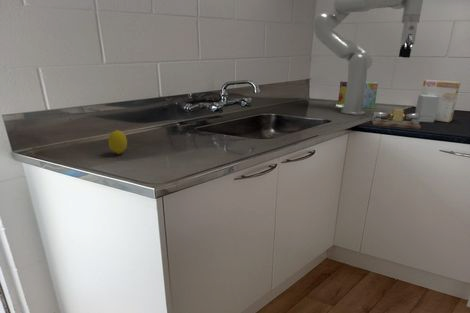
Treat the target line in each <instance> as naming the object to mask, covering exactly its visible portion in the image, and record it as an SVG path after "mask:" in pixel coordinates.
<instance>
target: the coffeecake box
mask: <svg viewBox="0 0 470 313" xmlns="http://www.w3.org/2000/svg"><path fill="white" fill-rule="evenodd" d="M460 87H461V81H453V80H441V79H440V80H439V79H427V78H426V79H424V80H423V84H422V90H421V94H420V95H434V96H437V97H439V101H438V105H437V110H436V115H435V119H434V121H437V122H443V123H444V122H445V123H450V122H451V121H452V120H453V116H454V112H455V107H456V104H457V99H458V94H459V90H460Z"/></svg>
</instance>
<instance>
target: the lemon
mask: <svg viewBox="0 0 470 313" xmlns="http://www.w3.org/2000/svg"><path fill="white" fill-rule="evenodd" d="M108 146H109V149H110V150H111V151H112V152H113V153H116V154H117V155H120V154H122V153H123V152H124V151H125V150H126V149H127V146H128V139H127V136H126V134H125V133H124V132H123V131H121V130H118V129H115V130H114V131H112V132H111V133H110V134H109V137H108Z"/></svg>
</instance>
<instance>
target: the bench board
mask: <svg viewBox="0 0 470 313" xmlns="http://www.w3.org/2000/svg"><path fill="white" fill-rule="evenodd" d="M370 121H371V124H372V125H373V126H378V127H379V126H381V127H392V128H405V129H415V130H421V129H422V128H421V127H422V126H421V125H420V124H419V125H413V124H412V123H411V121H410V120H409V121H408V120H404V121H403V122H407V123H406V125H403V124H390V123H389V121H388V120H387V119H386V118H385V119H384V118H381V121H380V122H375V121H374V118H371V120H370Z"/></svg>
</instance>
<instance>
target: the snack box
mask: <svg viewBox="0 0 470 313" xmlns="http://www.w3.org/2000/svg"><path fill="white" fill-rule="evenodd" d="M378 87H379V82H373V81H372V82H371V81H366V86H365V93H364V100H363V107H362V109H375V107H376V106H375V105H376V101H377V94H378ZM346 88H347V80H340V83H339V89H338V90H339V91H338V98H337V99H338V100H337V104H338V105H342V104H344V103H345V96H346Z"/></svg>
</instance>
